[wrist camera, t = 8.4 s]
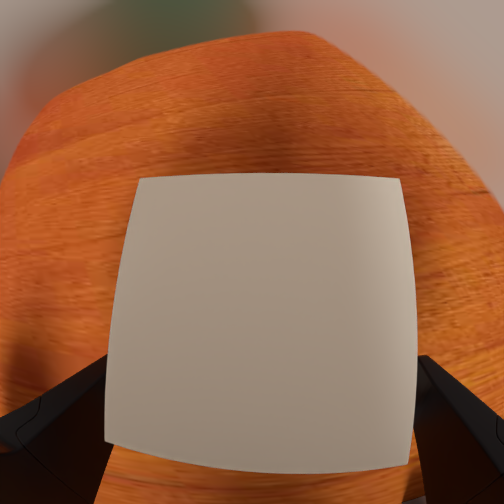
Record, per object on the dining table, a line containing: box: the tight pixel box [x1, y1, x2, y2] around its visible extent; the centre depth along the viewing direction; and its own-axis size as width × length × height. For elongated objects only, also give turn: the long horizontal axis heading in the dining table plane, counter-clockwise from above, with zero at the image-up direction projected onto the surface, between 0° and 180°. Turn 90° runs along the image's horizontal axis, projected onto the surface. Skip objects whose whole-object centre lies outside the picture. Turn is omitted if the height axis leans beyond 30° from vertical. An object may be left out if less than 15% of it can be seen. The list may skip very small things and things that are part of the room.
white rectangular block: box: [104, 173, 417, 474], centre depth 10 cm, size 4×4×13 cm
